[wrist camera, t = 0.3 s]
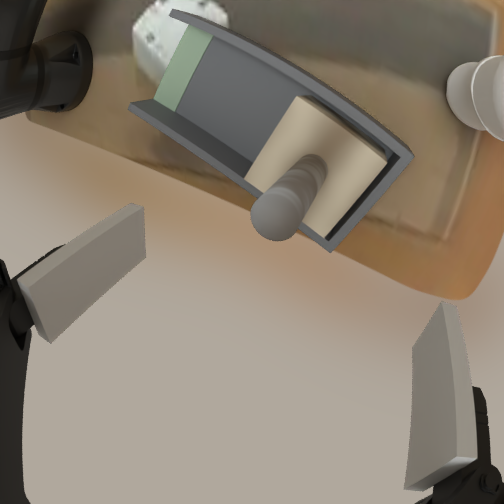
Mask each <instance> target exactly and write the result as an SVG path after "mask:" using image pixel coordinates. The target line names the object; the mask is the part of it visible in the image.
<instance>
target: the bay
mask: <svg viewBox="0 0 504 504" xmlns="http://www.w3.org/2000/svg"><path fill="white" fill-rule="evenodd" d="M169 16H170V17H172V18H175V19H177V20H180V21H182V22H185V23H187V24H189V25H188V27H187V29H186V31H185V33H184V35H183V37H182V39H181V41H180V42H179V44H178V46H177V48H176V50H175V53H174V55H173V57H172V59H171V61H170V63H169V65H168V67H167V69H166V71H165V74H164V76H163V78H162V80H161V82H160V85H159V87H158V89H157V92H156V94H155V96H154V99H150V100H143V101H137V102H131V103H130V105H129V107H128V110H129V111H131V112H132V113H134V114H135V115H137V116H138V117H140V118H142V119H143V120H145V121H146V122H148V123H149V124H151V125H152V126H154V127H155V128H157V129H158V130H160V131H161V132H163V133H164V134H166V135H167V136H169V137H170V138H172V139H173V140H175V141H176V142H178V143H179V144H181V145H182V146H184V147H185V148H186V149H188V150H189V151H191V152H192V153H194V154H195V155H197V156H198V157H200V158H201V159H202V160H204V161H205V162H207V163H208V164H210V165H211V166H213V167H214V168H215V169H217V170H218V171H220V172H221V173H223V174H224V175H225V176H227V177H228V178H230V179H231V180H232V181H234V182H235V183H237V184H238V185H239V186H241V187H242V188H244V189H245V190H246V191H248V192H249V193H251V194H252V195H253V196H255V197H256V198H257V199H258V198H259V197H260V196H262V195H263V194H264V193H263V192H261V191H260V190H258V189H257V188H256V187H254V186H253V185H252V184H250V183H249V182H247V181H246V180H245V179H244V178H245V176H246V174H247V173H248V171H249V170H250V168H251V166H252V165H253V163H254V161H255V160H256V158H257V157H258V155H259V154H260V152H261V150H262V149H263V147H264V146H265V144H266V142H267V141H268V139H269V138H270V136H271V135H272V133H273V131H274V130H275V128H276V127H277V125H278V124H279V122H280V121H281V119H282V117H283V116H284V114H285V113H286V111H287V110H288V108H289V107H290V105H291V104H292V102H293V101H294V99H295V98H296V96H304V95H312V96H313V97H315V98H316V99H318V100H319V101H321V102H322V103H323V104H325V105H326V106H328V107H329V108H331V109H332V110H334V111H335V112H336V113H338V114H339V115H341V116H342V117H343V118H345V119H346V120H347V121H349V122H350V123H351V124H353V125H354V126H356V127H357V128H358V129H359V130H361V131H362V132H363V133H365V134H366V135H367V136H369V137H370V138H371V139H372V140H374V141H375V142H376V143H377V144H379V145H380V146H381V147H382V148H384V149H385V153H386V158H387V164H386V165H385V167H384V168H383V169H382V170H381V171H380V173H379V174H378V175H377V176H376V177H375V179H374V180H373V181H372V182H371V184H370V185H369V186H368V187H367V188H366V190H365V191H364V192H363V193H362V194H361V196H360V197H359V198H358V199H357V200H356V201H355V203H354V204H353V205H352V206H351V207H350V209H349V210H348V211H347V212H346V213H345V214H344V216H343V217H342V218H341V219H340V220H339V221H338V223H337V224H336V225H335V226H334V227H333V228H332V230H331V231H330V232H329V233H328V234H327V235H326V236H325V238H323V237H322V236H320V235H319V234H318V233H316V232H315V231H314V230H312V229H311V228H310V227H308V226H307V225H306V224H304V223H303V222H301V224H300V225H299V227H298V229H299V230H301V231H302V232H303V233H305V234H306V235H307V236H309V237H310V238H311V239H312V240H314V241H315V242H316V243H318V244H319V245H320V246H322V247H323V248H324V249H326V250H327V251H328V252H329V253H331V252H332V251H333V250H334V249H335V248H336V247H337V246H338V244H339V243H340V242H341V241H342V240H343V239H344V238H345V237H346V236H347V235H348V233H349V232H350V231H351V230H352V229H353V228H354V227H355V226H356V225H357V223H358V222H359V221H360V220H361V219H362V218H363V217H364V216H365V214H366V213H367V212H368V211H369V210H370V209H371V208H372V206H373V205H374V204H375V203H376V202H377V201H378V199H379V198H380V197H381V196H382V195H383V194H384V192H385V191H386V190H387V189H388V188H389V187H390V185H391V184H392V183H393V182H394V181H395V180H396V178H397V177H398V176H399V175H400V174H401V172H402V171H403V170H404V169H405V168H406V166H407V165H408V164H409V163H410V162H411V160H412V159H413V158H414V157H415V156H414V155H413V153H412V151H411V150H410V148H409V147H408V146H407V145H406V144H405V143H404V142H403V141H401V140H400V139H399V138H398V137H397V136H395V135H394V134H393V133H392V132H391V131H389V130H388V129H387V128H386V127H384V126H383V125H382V124H381V123H379V122H378V121H377V120H376V119H374V118H373V117H372V116H370V115H369V114H368V113H366V112H365V111H364V110H362V109H361V108H360V107H358V106H357V105H356V104H354V103H353V102H351V101H350V100H349V99H347V98H346V97H344V96H343V95H342V94H340V93H339V92H337V91H336V90H334V89H333V88H331V87H330V86H328V85H327V84H325V83H324V82H322V81H321V80H319V79H318V78H316V77H315V76H313V75H311V74H310V73H308V72H307V71H305V70H303V69H302V68H300V67H298V66H297V65H295V64H293V63H292V62H290V61H288V60H287V59H285V58H283V57H281V56H280V55H278V54H276V53H274V52H272V51H271V50H269V49H267V48H265V47H263V46H261V45H260V44H258V43H256V42H254V41H252V40H250V39H248V38H246V37H244V36H242V35H240V34H238V33H236V32H234V31H232V30H229V29H227V28H225V27H223V26H221V25H219V24H216V23H214V22H212V21H210V20H207V19H205V18H203V17H200V16H197V15H194V14H190V13H187V12H183V11H179V10H176V9H172V10H171V12H170V14H169Z"/></svg>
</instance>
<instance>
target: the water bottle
mask: <svg viewBox="0 0 504 504" xmlns="http://www.w3.org/2000/svg"><path fill="white" fill-rule="evenodd" d="M446 97H447V101H448V104H449V106H450V108H451V110H452V111H453V113H454V114H455V115H456V117H457V118H458V119H459V120H460V121H462V122H463V123H464V124H466V125H467V126H469V127H472V128H474V129H477V130H487V131H488V132H489V133H490V134H491V135H492V136H494V137H495V138H497V139H499V140H501V141H503V142H504V55H503V56H491V57H487V58H485V59H483V60H481V61H480V62H469V63H465V64H462V65H460V66H458V67H456V68H455V69H454V70H453V71H452V72H451V74H450V75H449V77H448V80H447V92H446Z"/></svg>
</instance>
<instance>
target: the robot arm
mask: <svg viewBox="0 0 504 504" xmlns="http://www.w3.org/2000/svg"><path fill="white" fill-rule="evenodd" d="M46 2H47V0H0V119H3V118H6V117H9V116H12V115H15V114H18V113H22V112H25V111H29V110H40V111H48V112H55V113H57V112H63V111H67V110H71V109H73V108H75V107H76V106H77V105H78V104H79V103H80V102H81V101H82V99H83V98H84V96H85V94H86V92H87V89H88V87H89V84H90V80H91V74H92V54H91V49H90V46H89V44H88V42H87V40H86V38H85V37H84V36H83V35H82V34H80V33H78V32H75V31H67V32H60V33H57V34H54V35H52V36H49V37H47V38H45V39H43V40H40V41H38V42H36V43H32V42H33V39H34V36H35V32H36V29H37V27H38V24H39V21H40V18H41V15H42V13H43V10H44V7H45V5H46ZM145 258H146V250H145V229H144V207H143V206H140V205H136V204H133V203H130V204H128V205H127V206H125V207H123V208H122V209H120V210H118V211H117V212H115V213H114V214H112V215H110V216H109V217H107V218H105V219H104V220H102V221H101V222H99V223H97V224H96V225H94V226H93V227H91V228H90V229H88V230H86V231H85V232H83V233H82V234H81V235H79V236H77V237H76V238H74V239H73V240H71V241H70V242H68V243H67V244H64V245H62V246H59V247H56V248H54V249H53V250H51V251H50V252H48V253H47V254H46V255H45V256H43V257H41V258H40V259H38V261H35V262H34V263H33V264H31V265H30V266H28V267H27V268H26V269H24V270H23V271H22V272H20V273H19V274H18V275H16V276H15V277H14V278H12V279H11V280H10V277H9V274H8V271H7V268H6V265H5V263H4V261H3V260H1V259H0V504H30V502H29V500H28V499H27V498H26V495H25V492H24V482H23V464H22V423H23V404H24V403H23V402H24V389H25V380H26V371H27V363H28V355H29V348H30V342H31V336H32V333H31V329H30V328H31V327H32V326H33V325H35V327H36V329H37V331H38V334H39V335H40V336H41V337H42V338H44V339H45V340H47V341H48V342H49V343H50V344H51V343H52V342H53V341H54V340H55V339H56V338H57V337H58V336H59V335H60V334H61V333H63V331H65V330H66V329H67V328H68V327H69V326H70V325H71V324H72V323H73V322H74V321H75V320H76V319H77V318H78V317H79V316H81V315H82V314H83V313H84V312H85V311H86V310H87V309H88V308H89V307H90V306H91V305H93V304H94V303H95V302H96V301H97V300H98V299H99V298H100V297H101V296H102V295H104V294H105V293H106V292H107V291H108V290H109V289H110V288H111V287H113V286H114V285H115V284H116V283H117V282H118V281H119V280H120V279H121V278H122V277H124V276H125V275H126V274H127V273H128V272H130V271H131V270H132V269H133V268H134V267H135V266H137V265H138V264H139V263H140V262H141V261H142V260H144V259H145ZM412 358H413V360H412V363H413V379H412V380H413V381H412V385H413V386H412V415H411V429H410V441H409V452H408V461H407V470H406V477H405V484H404V489H405V490H414V491H425V490H427V489H428V488H430V487H432V486H434V487H433V494H432V495H430V496H428V497H426V498H424V499H422V500H420V501H418V502H417V503H415V504H421V503H422V504H504V483H503V482H502V477H501V474H500V472H499V470H498V469H497V468H496V467H495V466H493V465H491V454H490V436H489V426H488V416H487V406H486V400H485V398H484V396H483V393H482V391H481V389H480V388H478V387H474V386H472V382H471V375H470V368H469V362H468V357H467V351H466V345H465V340H464V335H463V331H462V326H461V322H460V317H459V313H458V309H457V306H455V305H453V304H449V303H446V302H443V301H441V303H440V305H439V306H438V308H437V310H436V311H435V313H434V315H433V317H432V318H431V320H430V321H429V323H428V324H427V326H426V328H425V329H424V331H423V332H422V334H421V336H420V337H419V338H418V340H417V341H416V343H415V345H414V346H413V348H412Z"/></svg>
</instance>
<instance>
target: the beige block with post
mask: <svg viewBox="0 0 504 504" xmlns="http://www.w3.org/2000/svg"><path fill="white" fill-rule="evenodd" d="M386 164H387V158H386V153H385V149H384V148H382V147H381V146H380V145H379V144H377V143H376V142H375V141H374V140H372V139H371V138H370V137H369V136H367V135H366V134H365V133H363V132H362V131H361V130H359V129H358V128H357V127H356V126H354V125H353V124H351V123H350V122H349V121H347V120H346V119H345V118H343V117H342V116H341V115H339V114H338V113H336V112H335V111H334V110H332V109H331V108H329V107H328V106H326V105H325V104H323V103H322V102H321V101H319V100H318V99H316V98H315V97H313V96H312V95H304V96H296V98H295V99H294V101H293V102H292V104H291V105H290V107H289V108H288V110H287V111H286V113H285V114H284V116H283V117H282V119H281V121H280V122H279V124H278V125H277V127H276V128H275V130H274V131H273V133H272V135H271V136H270V138H269V139H268V141H267V142H266V144H265V146H264V147H263V149H262V150H261V152H260V154H259V155H258V157H257V158H256V160H255V161H254V163H253V165H252V166H251V168H250V170H249V171H248V173H247V174H246V176H245V178H244V179H245V180H246V181H247V182H249V183H250V184H252V185H253V186H254V187H256V188H257V189H258V190H260V191H261V192H263V193H264V194H263V195H262V196H260V197H259V198H258V199H257V200H256V201H255V203H254V204H253V206H252V208H251V221H252V224H253V226H254V228H255V229H256V231H257V232H258V233H259V234H260V235H261V236H263V237H265V238H266V239H269V240H272V241H283V240H286V239H289V238H290V237H292V236H293V235H294V234H295V232H296V231H297V229H298V227H299V225H300V224H301V222H303V223H304V224H306V225H307V226H308V227H310V228H311V229H312V230H314V231H315V232H316V233H318V234H319V235H320V236H322V237H323V238H325V236H326V235H327V234H328V233H329V232H330V231H331V230H332V228H333V227H334V226H335V225H336V224H337V223H338V221H339V220H340V219H341V218H342V217H343V216H344V214H345V213H346V212H347V211H348V210H349V209H350V207H351V206H352V205H353V204H354V203H355V201H356V200H357V199H358V198H359V197H360V196H361V194H362V193H363V192H364V191H365V190H366V188H367V187H368V186H369V185H370V184H371V182H372V181H373V180H374V179H375V177H376V176H377V175H378V174H379V173H380V171H381V170H382V169H383V168H384V167H385V165H386Z"/></svg>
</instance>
